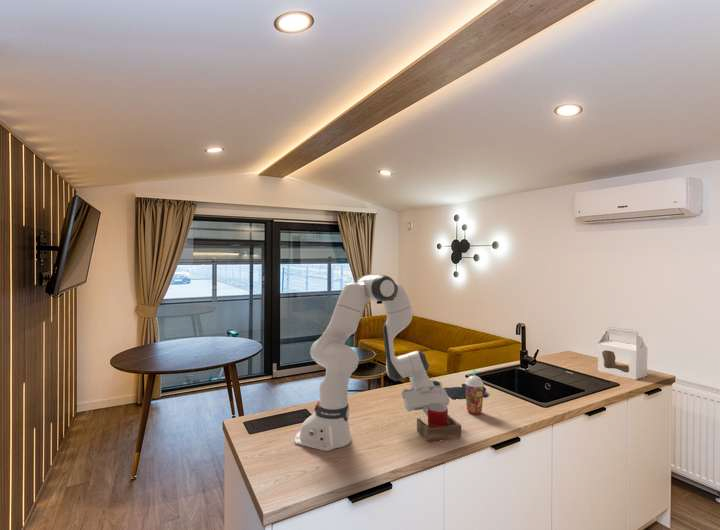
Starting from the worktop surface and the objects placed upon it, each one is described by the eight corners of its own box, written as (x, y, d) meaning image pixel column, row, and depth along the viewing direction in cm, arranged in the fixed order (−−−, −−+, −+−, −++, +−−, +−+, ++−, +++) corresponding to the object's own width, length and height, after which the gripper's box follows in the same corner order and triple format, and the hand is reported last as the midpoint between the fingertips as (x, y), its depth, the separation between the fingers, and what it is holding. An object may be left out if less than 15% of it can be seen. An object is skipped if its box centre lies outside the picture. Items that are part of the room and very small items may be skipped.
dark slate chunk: (439, 390, 208) (439, 382, 208) (476, 388, 213) (476, 379, 213) (452, 401, 193) (452, 392, 193) (491, 397, 198) (491, 388, 198)
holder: (416, 430, 160) (416, 418, 160) (447, 426, 164) (447, 414, 164) (428, 442, 149) (428, 430, 149) (461, 437, 154) (461, 425, 154)
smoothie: (461, 410, 181) (461, 368, 180) (475, 408, 184) (476, 366, 183) (472, 417, 173) (472, 373, 172) (487, 414, 176) (487, 371, 175)
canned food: (447, 438, 153) (447, 410, 153) (427, 436, 155) (427, 409, 155) (447, 429, 161) (447, 403, 161) (427, 427, 162) (428, 402, 162)
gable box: (597, 370, 243) (597, 326, 243) (608, 367, 250) (608, 325, 249) (636, 380, 224) (637, 332, 223) (647, 377, 231) (648, 330, 230)
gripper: (402, 386, 166) (411, 418, 157) (444, 381, 172) (456, 411, 163) (398, 393, 170) (407, 424, 161) (439, 388, 176) (450, 418, 167)
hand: (432, 417), depth 162 cm, fingers closed, pressing on canned food
